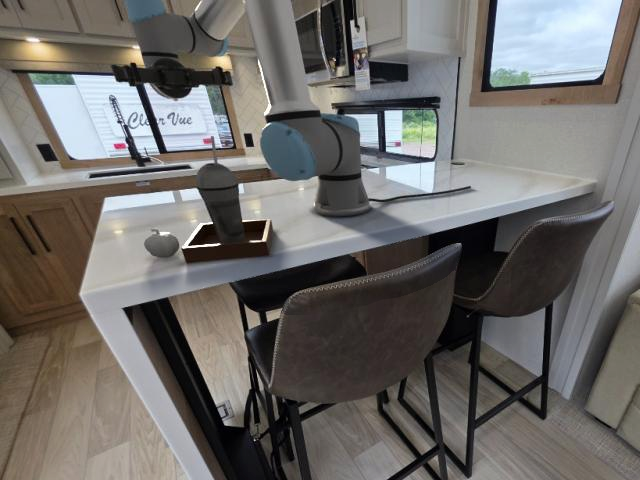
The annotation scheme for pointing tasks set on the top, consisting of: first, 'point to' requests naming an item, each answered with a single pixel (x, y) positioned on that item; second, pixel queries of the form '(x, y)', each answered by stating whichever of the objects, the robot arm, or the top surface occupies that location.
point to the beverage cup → (221, 199)
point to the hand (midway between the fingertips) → (181, 74)
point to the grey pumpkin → (161, 244)
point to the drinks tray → (209, 247)
